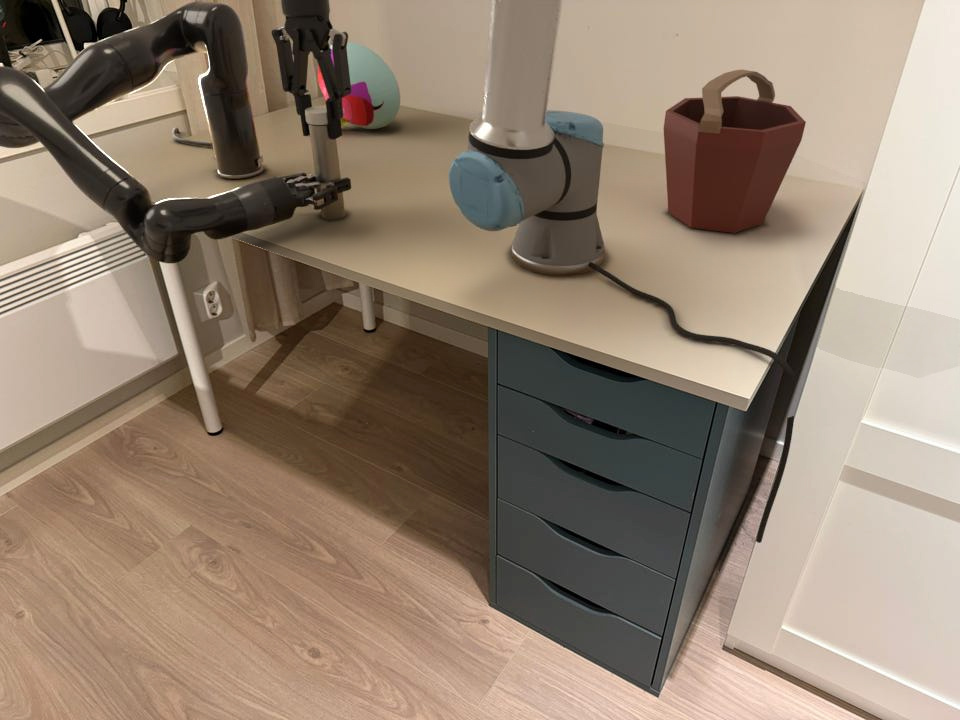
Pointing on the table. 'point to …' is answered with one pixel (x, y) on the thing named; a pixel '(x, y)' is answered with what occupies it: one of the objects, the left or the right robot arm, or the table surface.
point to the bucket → (728, 154)
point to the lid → (316, 115)
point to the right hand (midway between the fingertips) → (322, 135)
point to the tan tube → (326, 167)
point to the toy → (367, 89)
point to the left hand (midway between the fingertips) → (341, 179)
